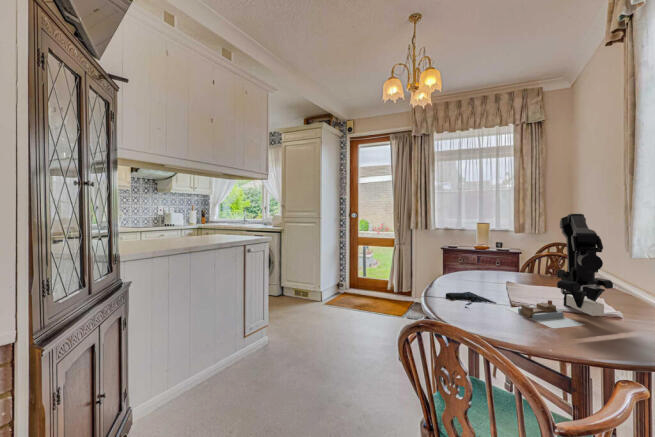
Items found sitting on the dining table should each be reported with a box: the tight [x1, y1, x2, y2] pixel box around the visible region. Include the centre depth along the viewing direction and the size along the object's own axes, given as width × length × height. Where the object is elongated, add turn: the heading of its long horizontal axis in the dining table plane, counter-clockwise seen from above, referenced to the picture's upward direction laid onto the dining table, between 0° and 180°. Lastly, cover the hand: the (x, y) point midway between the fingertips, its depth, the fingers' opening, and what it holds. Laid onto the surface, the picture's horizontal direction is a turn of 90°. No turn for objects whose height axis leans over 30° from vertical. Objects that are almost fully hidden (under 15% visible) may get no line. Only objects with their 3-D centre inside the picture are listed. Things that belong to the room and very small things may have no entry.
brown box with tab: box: [520, 299, 557, 319], centre depth 119 cm, size 12×4×6 cm, turn 100°
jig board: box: [505, 305, 585, 330], centre depth 118 cm, size 14×22×3 cm, turn 10°
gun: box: [445, 291, 497, 310], centre depth 139 cm, size 24×3×15 cm
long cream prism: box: [566, 295, 605, 317], centre depth 112 cm, size 4×12×4 cm, turn 178°
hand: (584, 307), depth 112 cm, fingers closed on long cream prism, 4 cm apart
